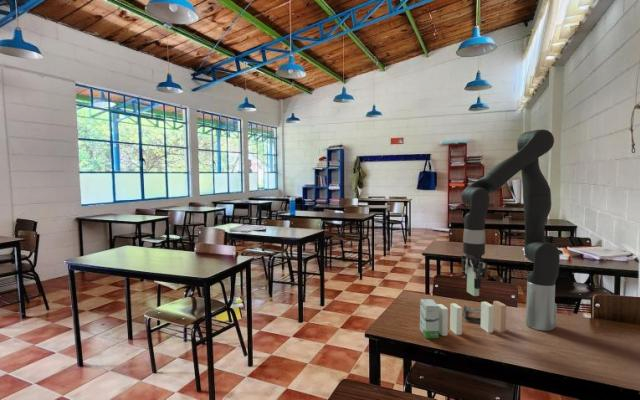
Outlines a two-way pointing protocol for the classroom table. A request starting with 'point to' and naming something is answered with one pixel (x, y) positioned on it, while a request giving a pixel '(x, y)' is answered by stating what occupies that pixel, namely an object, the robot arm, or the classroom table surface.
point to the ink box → (429, 318)
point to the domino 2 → (456, 318)
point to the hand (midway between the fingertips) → (473, 285)
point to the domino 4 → (487, 316)
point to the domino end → (499, 316)
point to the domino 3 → (471, 283)
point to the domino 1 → (443, 320)
